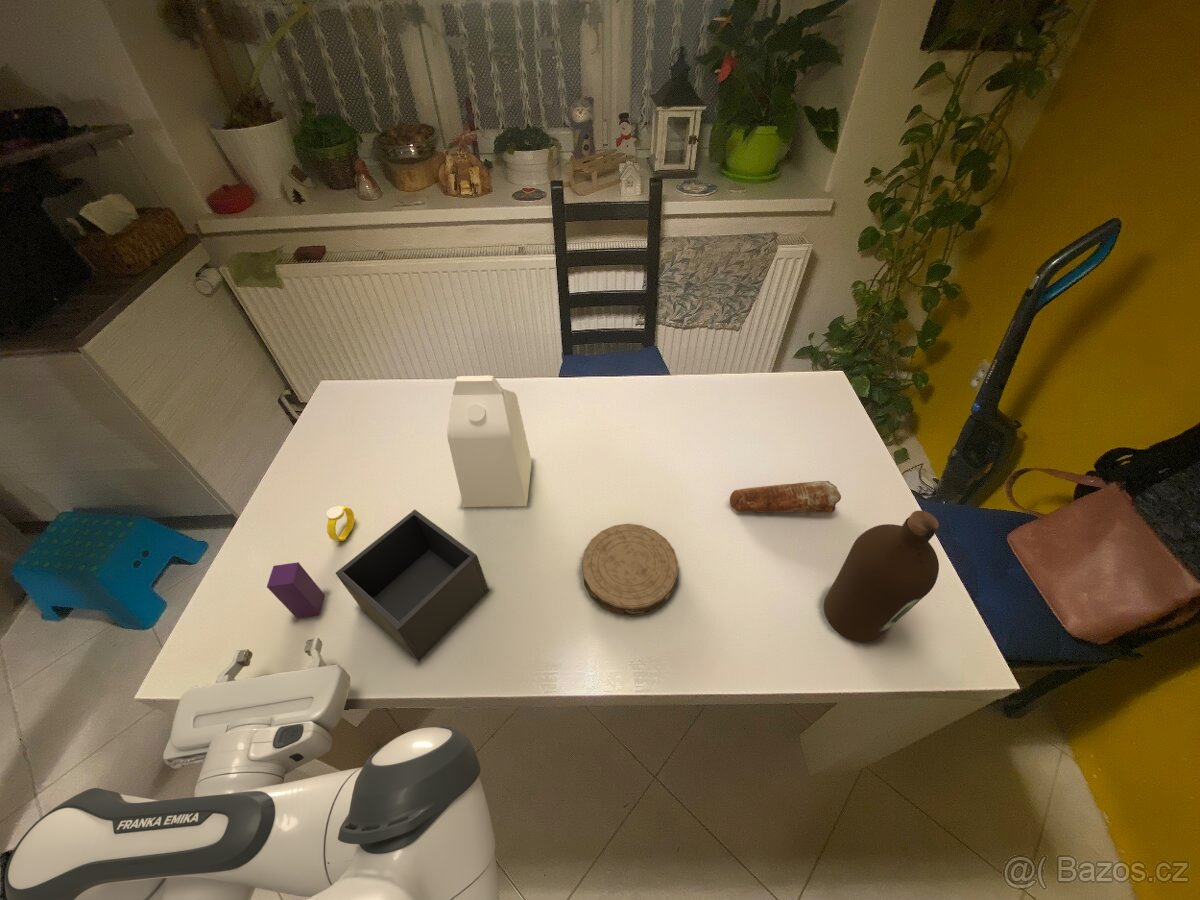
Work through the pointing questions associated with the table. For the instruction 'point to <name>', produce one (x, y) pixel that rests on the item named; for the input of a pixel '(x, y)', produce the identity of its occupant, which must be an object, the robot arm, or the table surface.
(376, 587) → the waste bin
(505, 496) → the milk
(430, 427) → the table surface
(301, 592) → the purple rectangular block
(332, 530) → the watch
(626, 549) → the wood slice coaster
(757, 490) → the bread
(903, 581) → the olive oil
